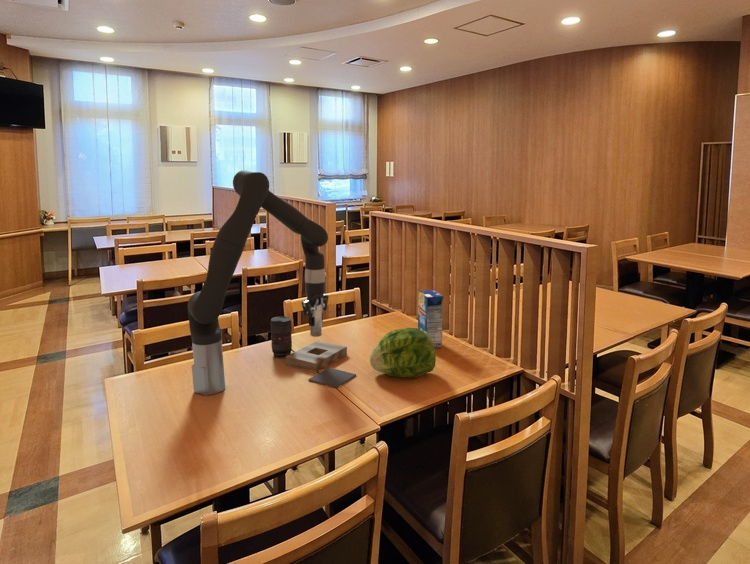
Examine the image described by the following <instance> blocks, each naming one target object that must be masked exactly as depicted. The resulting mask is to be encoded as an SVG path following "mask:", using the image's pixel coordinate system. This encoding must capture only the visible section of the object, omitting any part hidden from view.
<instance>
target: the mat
mask: <svg viewBox="0 0 750 564" xmlns="http://www.w3.org/2000/svg"><path fill="white" fill-rule="evenodd" d="M355 377H357V374H356V373H352V372H348V371H345V370H341V369H337V368H332V367H327V368H324V369H322V370H321V371H320V372H319V373H318V372H317V373H316V374H315V375H313V376H311V377H309V378H308V381H309V382H312V383H316V384H320V385H322V384H323V386H326V385H327V386H326V387H331V388H334V389H338V388H339V386H340V385H341V386H343V385H345V383H348V382H349V381H351V380H352V379H354V378H355ZM341 386H340V387H341Z"/></svg>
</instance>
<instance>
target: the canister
mask: <svg viewBox="0 0 750 564" xmlns="http://www.w3.org/2000/svg"><path fill="white" fill-rule="evenodd" d="M310 308H314V307H311V306H310ZM311 313H312V310H311ZM314 317H315V326H309V331H310V332H309V336H311V337H315V338H318V337H321V336H322V335H323V332H322V331H323V329H322V328H323V327H322V325H323V322H322V309H321V304H319V305H317V310H316V311H315V315H314Z"/></svg>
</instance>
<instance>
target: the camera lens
mask: <svg viewBox="0 0 750 564" xmlns="http://www.w3.org/2000/svg"><path fill="white" fill-rule="evenodd" d="M292 328H293V327H292V319H291V317H289V316H282V315H281V316H274V317H272V318H271V319H270V333H271V336H270V341H271V350H272V351H271V352H272V353H273V357H274V358H276V357H277V358H278V359H286V356H287V355H289V354H292V351H293V350H292V349H293V348H292V347H293V341H292V331H293V330H292Z"/></svg>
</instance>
